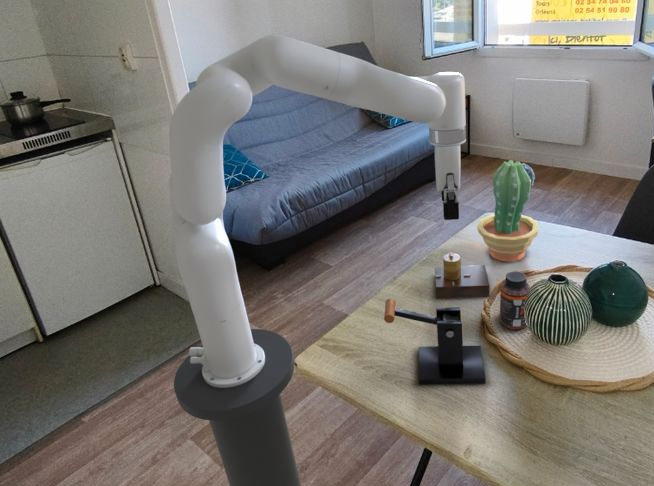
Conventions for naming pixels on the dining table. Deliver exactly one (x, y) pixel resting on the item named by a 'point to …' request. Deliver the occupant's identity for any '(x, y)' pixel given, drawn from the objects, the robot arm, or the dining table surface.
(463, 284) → the dial panel
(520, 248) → the potted cactus
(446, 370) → the bracket
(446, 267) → the knob
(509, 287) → the supplement bottle
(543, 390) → the dining table surface
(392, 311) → the lever handle
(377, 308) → the dining table surface
